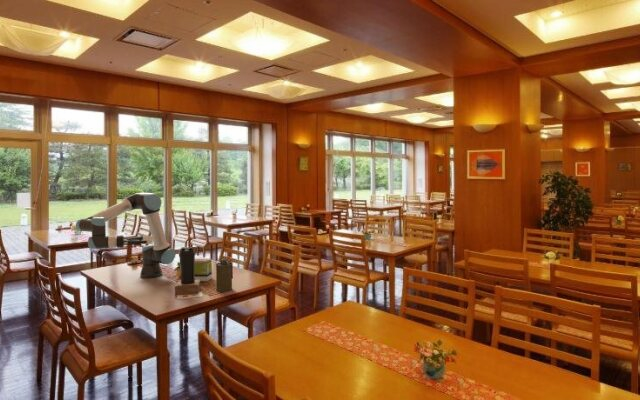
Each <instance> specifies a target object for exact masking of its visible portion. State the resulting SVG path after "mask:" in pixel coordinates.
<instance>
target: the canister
mask: <svg viewBox="0 0 640 400" xmlns="http://www.w3.org/2000/svg"><path fill="white" fill-rule="evenodd" d="M215 268H216V270H215V271H216V272H215V273H216V275H215V276H216V278H215V279H216V281H215V282H216V292H218V293H226V292H227V293H228V292H230V291H232V290H233V279H234V276H233V274H234V272H233V270H234V269H233V268H234V267H233V262H232V261H228V260H227V259H224V258H223V259H219V262H216V263H215Z"/></svg>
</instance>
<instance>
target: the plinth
mask: <svg viewBox="0 0 640 400" xmlns="http://www.w3.org/2000/svg"><path fill="white" fill-rule="evenodd" d="M201 282H202V281H200V279H198V280H195V282H194V283H192V284H181V279H180V280H177V282H176V284H175V286H174V296H175V297H177V295H194V294H198V293H199V292H201V286H202V285H201Z"/></svg>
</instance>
